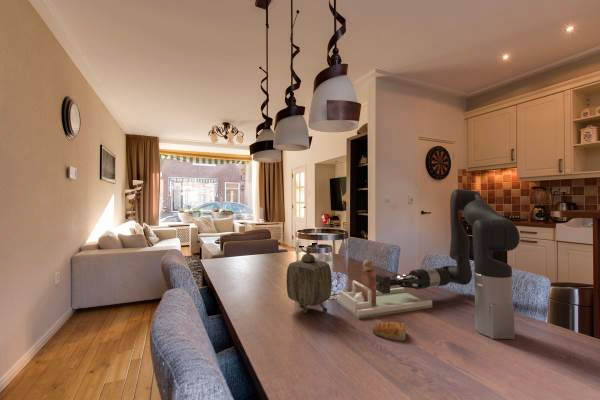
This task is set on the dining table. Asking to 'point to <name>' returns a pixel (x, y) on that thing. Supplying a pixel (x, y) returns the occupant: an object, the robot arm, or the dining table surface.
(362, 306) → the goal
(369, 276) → the striker
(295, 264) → the tabletop clock
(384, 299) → the pitch
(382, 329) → the pastry
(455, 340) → the dining table surface
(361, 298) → the ball
